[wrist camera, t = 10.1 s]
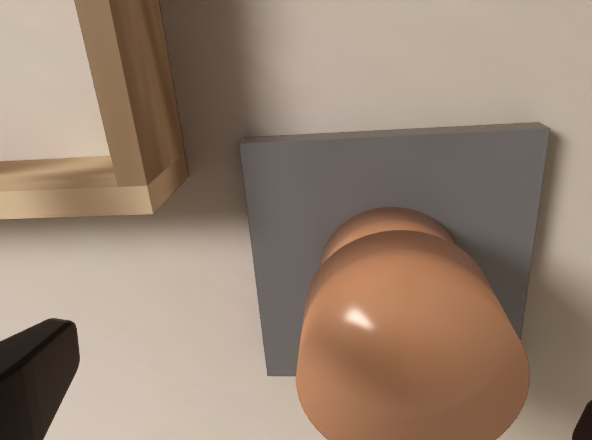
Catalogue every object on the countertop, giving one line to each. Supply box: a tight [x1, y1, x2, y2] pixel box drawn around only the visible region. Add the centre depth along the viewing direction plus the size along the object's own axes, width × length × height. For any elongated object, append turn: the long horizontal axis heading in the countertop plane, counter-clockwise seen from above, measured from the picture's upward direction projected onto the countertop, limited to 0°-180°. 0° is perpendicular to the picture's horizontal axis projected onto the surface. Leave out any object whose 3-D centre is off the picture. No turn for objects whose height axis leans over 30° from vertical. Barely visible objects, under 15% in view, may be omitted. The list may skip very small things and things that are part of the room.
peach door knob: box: [296, 207, 530, 440], centre depth 16 cm, size 6×6×6 cm
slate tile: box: [239, 122, 550, 376], centre depth 20 cm, size 11×11×1 cm
